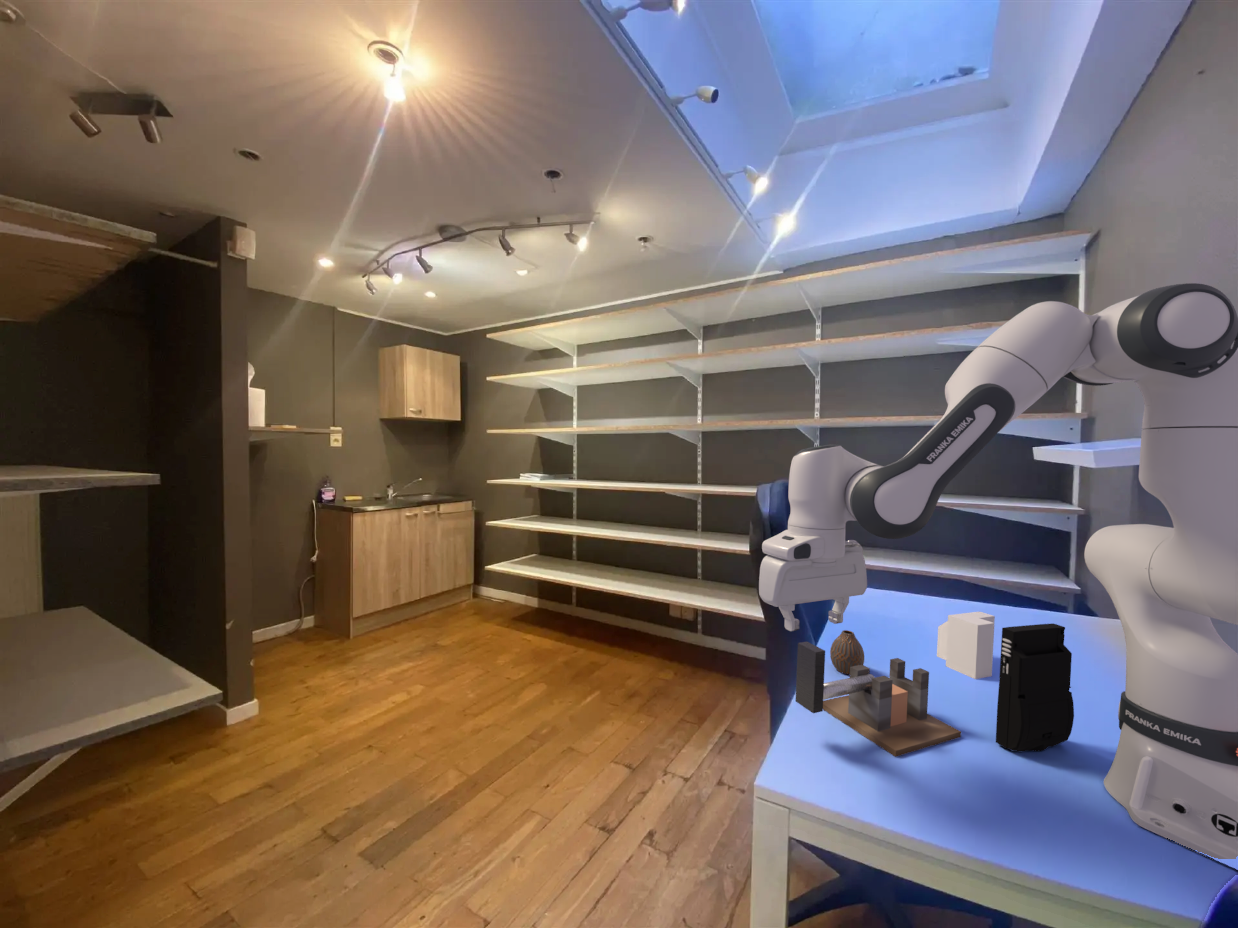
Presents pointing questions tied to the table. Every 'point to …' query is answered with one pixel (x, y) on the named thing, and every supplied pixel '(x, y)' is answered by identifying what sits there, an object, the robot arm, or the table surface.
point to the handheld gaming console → (1034, 688)
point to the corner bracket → (967, 643)
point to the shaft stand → (874, 711)
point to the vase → (846, 652)
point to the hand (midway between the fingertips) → (814, 625)
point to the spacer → (898, 705)
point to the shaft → (821, 679)
